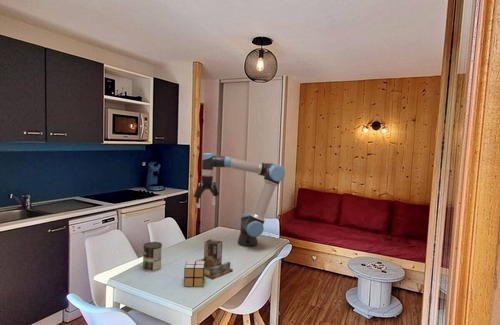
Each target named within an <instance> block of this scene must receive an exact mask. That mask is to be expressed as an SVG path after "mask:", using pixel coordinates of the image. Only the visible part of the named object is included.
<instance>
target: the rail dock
mask: <svg viewBox="0 0 500 325" xmlns="http://www.w3.org/2000/svg"><path fill="white" fill-rule="evenodd" d="M196 261H204V257H203V258H201V259H197V260H196ZM233 270H234V269H233V268H231V262H230V261H226V262H224V263H222V264H221V265H218V266H215V267H213V268H210V270H207V269H205V277H206V278H208V279H210V280H212V281H213V280H215V279H218V278H220V277H222V276H225V275H228V274H230V273H232V272H234V271H233Z"/></svg>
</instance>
